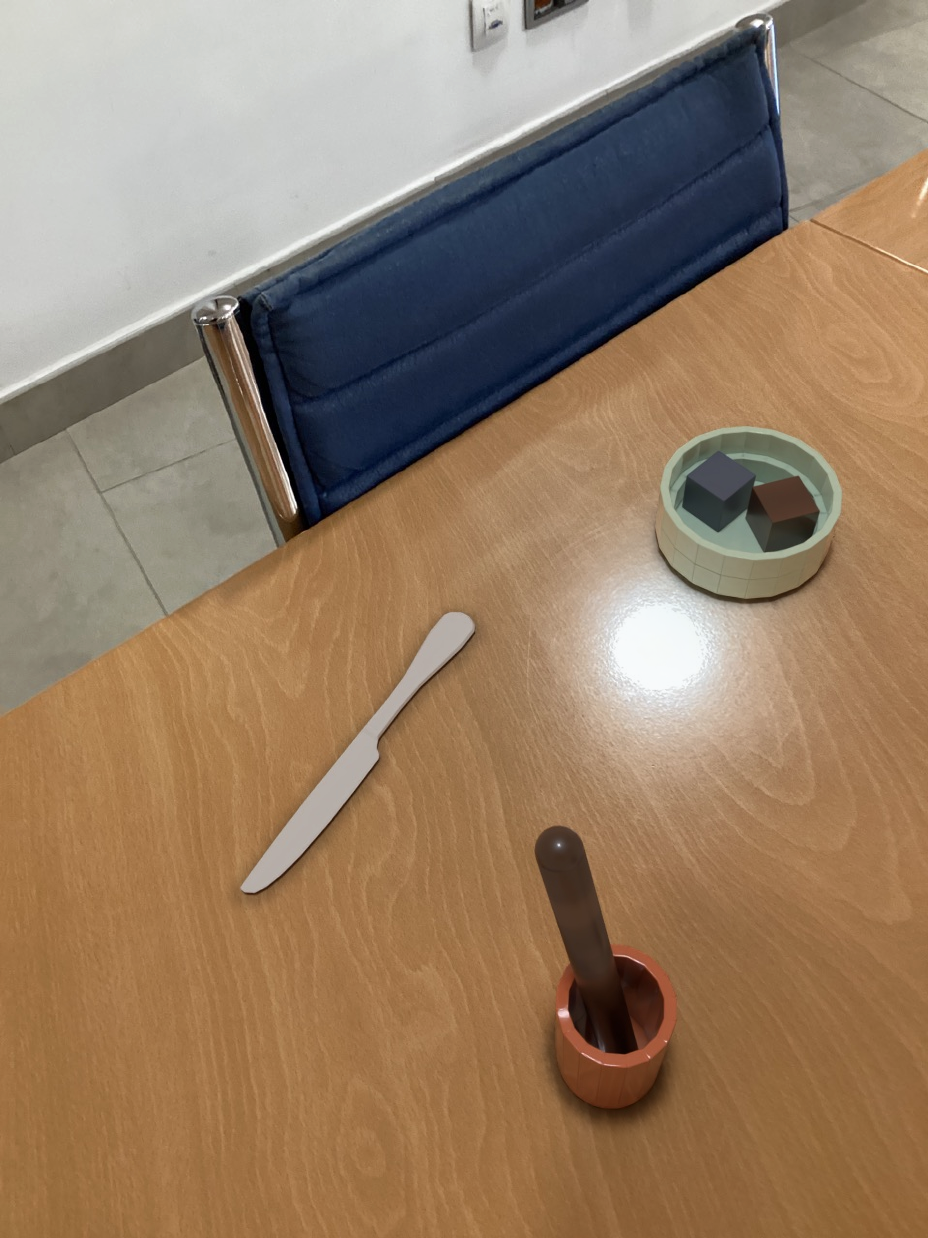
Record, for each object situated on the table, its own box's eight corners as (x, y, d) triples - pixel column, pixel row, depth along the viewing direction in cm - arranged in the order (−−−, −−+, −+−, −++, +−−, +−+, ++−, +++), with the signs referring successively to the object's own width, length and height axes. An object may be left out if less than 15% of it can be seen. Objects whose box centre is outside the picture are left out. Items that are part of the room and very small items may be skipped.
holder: (681, 1060, 57) (702, 1011, 49) (605, 1133, 56) (613, 1094, 47) (609, 980, 60) (618, 920, 52) (535, 1046, 58) (531, 996, 50)
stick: (648, 1082, 56) (586, 849, 41) (612, 1093, 56) (536, 864, 41) (636, 1046, 57) (572, 809, 43) (601, 1057, 57) (525, 824, 43)
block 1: (749, 506, 78) (756, 474, 75) (718, 533, 77) (724, 501, 74) (712, 482, 80) (718, 449, 77) (681, 507, 78) (686, 475, 76)
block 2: (810, 542, 76) (820, 511, 73) (764, 554, 75) (772, 522, 73) (790, 507, 78) (798, 474, 75) (744, 518, 77) (752, 486, 75)
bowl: (862, 539, 76) (879, 493, 72) (745, 633, 73) (756, 590, 68) (735, 448, 82) (745, 401, 78) (620, 531, 78) (624, 485, 74)
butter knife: (484, 622, 74) (450, 604, 75) (263, 904, 63) (226, 879, 64) (484, 625, 74) (450, 608, 75) (264, 907, 64) (228, 881, 65)
